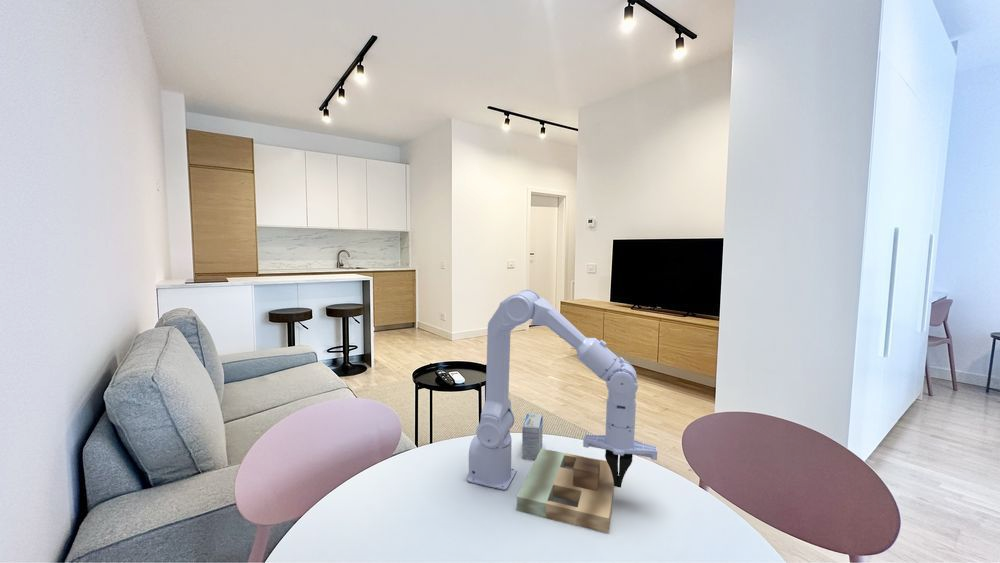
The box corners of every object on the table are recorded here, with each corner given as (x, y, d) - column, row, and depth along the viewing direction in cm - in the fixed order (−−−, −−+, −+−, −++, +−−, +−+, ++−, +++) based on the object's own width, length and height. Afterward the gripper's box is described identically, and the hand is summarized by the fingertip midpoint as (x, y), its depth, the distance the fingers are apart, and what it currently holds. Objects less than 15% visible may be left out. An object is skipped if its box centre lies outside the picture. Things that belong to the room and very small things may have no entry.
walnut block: (572, 485, 82) (573, 467, 82) (576, 473, 87) (577, 456, 87) (597, 491, 81) (597, 472, 80) (599, 477, 85) (600, 460, 85)
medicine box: (539, 461, 97) (540, 427, 97) (521, 459, 98) (522, 426, 97) (542, 445, 105) (543, 414, 104) (526, 443, 106) (526, 412, 105)
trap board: (516, 510, 79) (516, 496, 79) (540, 459, 98) (541, 448, 98) (608, 533, 73) (609, 518, 73) (615, 474, 92) (616, 462, 91)
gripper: (581, 424, 79) (579, 487, 80) (659, 437, 74) (655, 504, 75) (586, 410, 86) (584, 469, 87) (657, 421, 81) (654, 483, 82)
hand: (617, 484), depth 82 cm, fingers closed
